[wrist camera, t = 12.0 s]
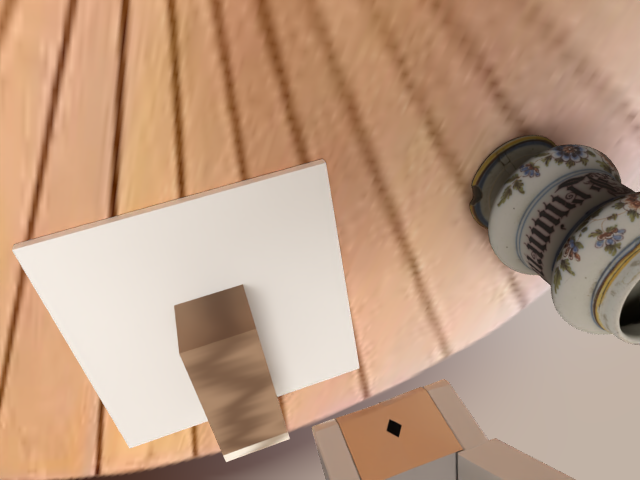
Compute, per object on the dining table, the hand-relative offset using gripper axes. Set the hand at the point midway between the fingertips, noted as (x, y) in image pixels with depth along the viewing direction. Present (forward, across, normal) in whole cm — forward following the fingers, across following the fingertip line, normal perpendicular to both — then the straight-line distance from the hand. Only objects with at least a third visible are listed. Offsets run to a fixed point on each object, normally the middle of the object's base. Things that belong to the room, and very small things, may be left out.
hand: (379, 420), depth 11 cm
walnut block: (+27, +5, +18) cm, 33 cm away
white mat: (+31, +5, +21) cm, 38 cm away
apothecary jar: (+31, -25, +17) cm, 44 cm away
